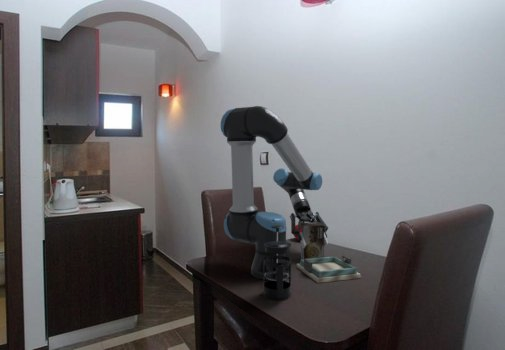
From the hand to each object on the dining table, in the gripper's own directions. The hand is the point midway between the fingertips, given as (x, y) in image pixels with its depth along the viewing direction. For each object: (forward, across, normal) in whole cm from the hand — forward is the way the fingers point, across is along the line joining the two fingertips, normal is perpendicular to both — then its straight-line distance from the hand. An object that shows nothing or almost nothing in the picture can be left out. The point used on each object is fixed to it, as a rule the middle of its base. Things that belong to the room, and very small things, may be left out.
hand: (315, 245), depth 151 cm
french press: (+26, +29, +15) cm, 42 cm away
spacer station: (+15, +2, +5) cm, 16 cm away
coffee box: (+3, 0, -7) cm, 8 cm away
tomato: (-20, -11, -30) cm, 38 cm away
